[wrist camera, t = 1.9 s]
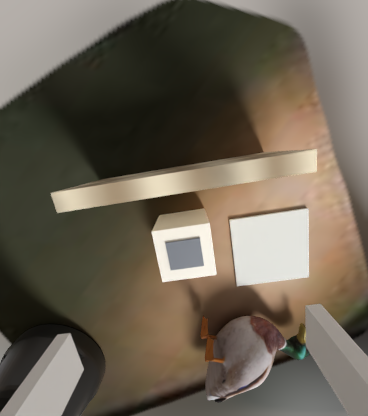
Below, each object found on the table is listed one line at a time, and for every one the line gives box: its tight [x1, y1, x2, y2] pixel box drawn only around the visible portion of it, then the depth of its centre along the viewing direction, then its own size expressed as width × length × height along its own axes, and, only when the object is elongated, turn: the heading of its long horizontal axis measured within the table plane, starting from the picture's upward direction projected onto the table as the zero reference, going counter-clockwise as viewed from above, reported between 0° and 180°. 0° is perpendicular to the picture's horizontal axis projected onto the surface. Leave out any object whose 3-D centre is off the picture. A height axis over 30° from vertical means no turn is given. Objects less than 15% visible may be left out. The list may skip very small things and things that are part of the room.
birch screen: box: [51, 149, 317, 213], centre depth 20 cm, size 20×2×10 cm, turn 99°
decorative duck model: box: [201, 315, 310, 402], centre depth 27 cm, size 15×8×15 cm
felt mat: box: [229, 208, 309, 286], centre depth 27 cm, size 10×10×1 cm
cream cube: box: [152, 208, 217, 282], centre depth 24 cm, size 6×6×6 cm
